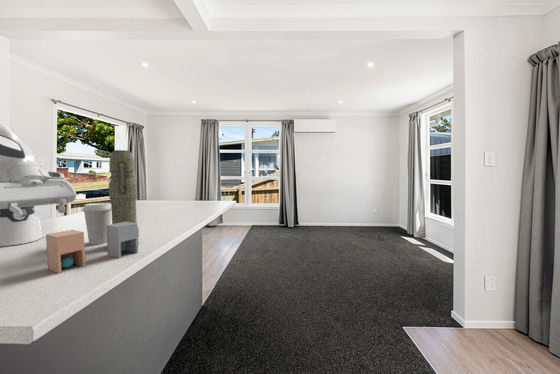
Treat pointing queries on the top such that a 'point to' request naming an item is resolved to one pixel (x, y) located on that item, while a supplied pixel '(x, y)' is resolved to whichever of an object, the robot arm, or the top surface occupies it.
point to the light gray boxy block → (122, 238)
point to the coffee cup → (97, 221)
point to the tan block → (65, 248)
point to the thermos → (122, 187)
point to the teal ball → (67, 262)
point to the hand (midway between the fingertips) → (44, 213)
